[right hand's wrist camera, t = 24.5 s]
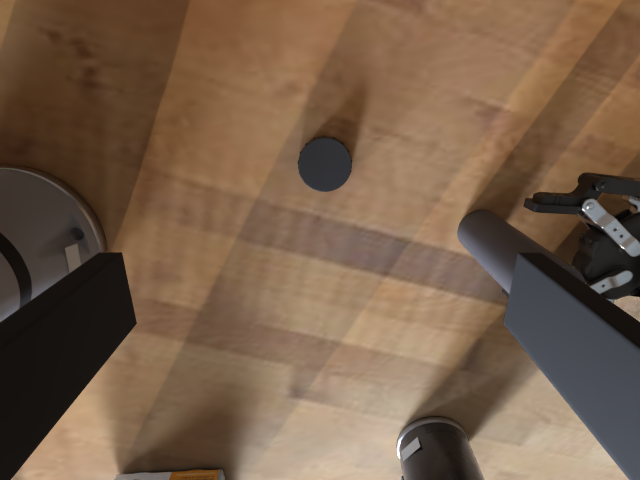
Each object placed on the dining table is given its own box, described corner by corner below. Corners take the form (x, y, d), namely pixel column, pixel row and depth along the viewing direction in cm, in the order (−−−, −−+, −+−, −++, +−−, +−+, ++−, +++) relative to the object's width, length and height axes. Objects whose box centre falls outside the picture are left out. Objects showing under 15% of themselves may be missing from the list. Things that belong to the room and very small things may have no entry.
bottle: (456, 213, 39) (533, 280, 25) (500, 206, 38) (603, 270, 24) (458, 252, 40) (531, 336, 26) (500, 246, 40) (596, 327, 26)
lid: (361, 170, 37) (362, 173, 35) (317, 198, 38) (317, 202, 37) (332, 124, 35) (333, 126, 34) (288, 155, 36) (286, 158, 35)
